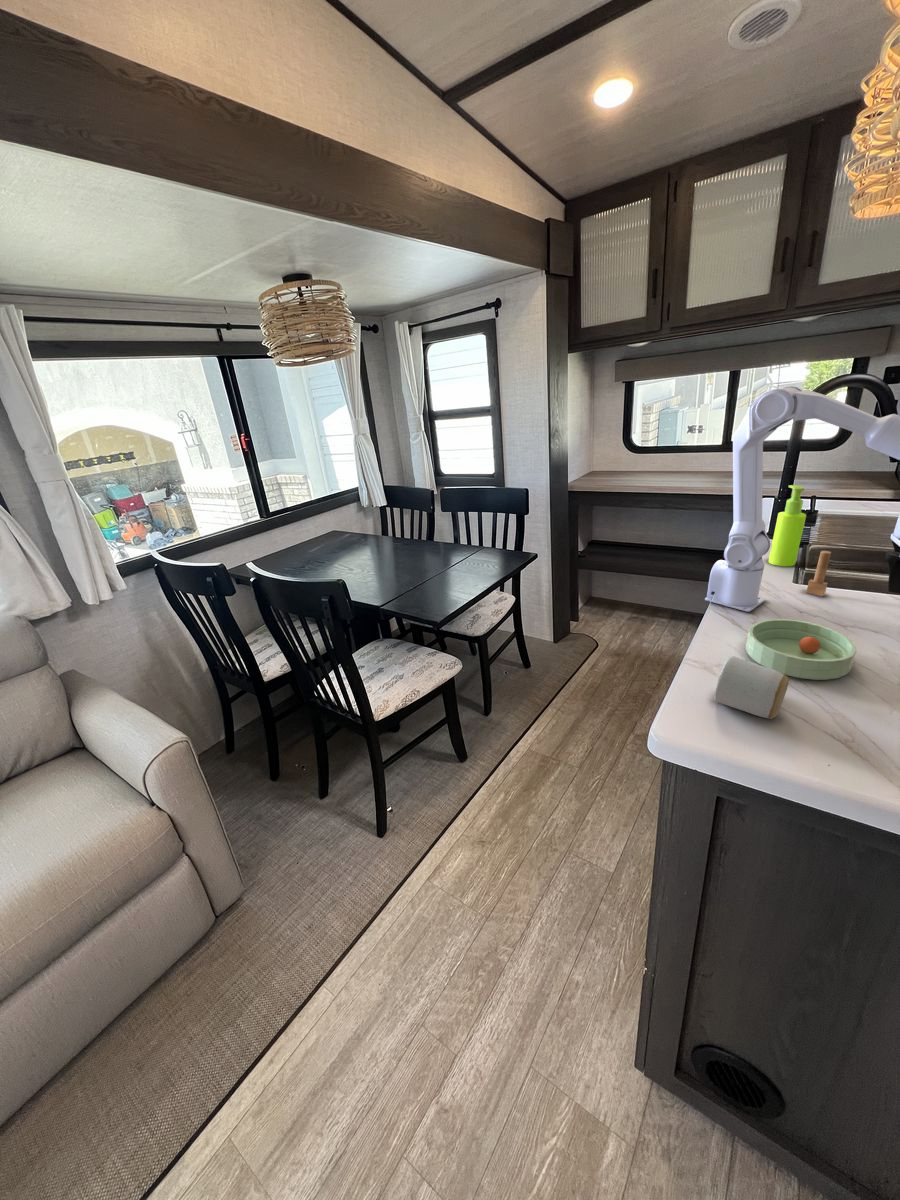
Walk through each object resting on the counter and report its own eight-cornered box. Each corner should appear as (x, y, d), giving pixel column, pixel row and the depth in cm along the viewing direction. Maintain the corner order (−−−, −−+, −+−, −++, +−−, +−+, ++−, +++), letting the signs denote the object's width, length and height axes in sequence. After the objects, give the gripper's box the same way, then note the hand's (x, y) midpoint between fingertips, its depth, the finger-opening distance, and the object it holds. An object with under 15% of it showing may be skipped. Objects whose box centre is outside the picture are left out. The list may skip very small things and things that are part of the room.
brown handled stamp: (805, 593, 106) (815, 551, 102) (808, 591, 107) (818, 549, 103) (822, 597, 104) (833, 554, 100) (825, 594, 105) (836, 552, 101)
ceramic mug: (772, 731, 67) (783, 686, 64) (710, 709, 72) (718, 667, 69) (787, 696, 74) (798, 654, 71) (730, 679, 79) (738, 639, 76)
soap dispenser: (790, 558, 126) (806, 483, 118) (798, 566, 120) (816, 488, 112) (764, 557, 128) (779, 483, 120) (771, 566, 122) (787, 489, 114)
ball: (794, 652, 84) (798, 637, 83) (801, 646, 85) (804, 632, 84) (814, 658, 82) (818, 643, 80) (820, 652, 83) (824, 637, 82)
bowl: (730, 658, 85) (733, 638, 83) (765, 629, 93) (769, 611, 91) (831, 693, 73) (838, 672, 72) (862, 657, 81) (868, 637, 80)
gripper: (956, 524, 71) (926, 604, 77) (959, 504, 80) (932, 577, 86) (894, 518, 76) (870, 594, 82) (903, 500, 85) (881, 569, 91)
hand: (898, 585), depth 84 cm, fingers open, 7 cm apart
